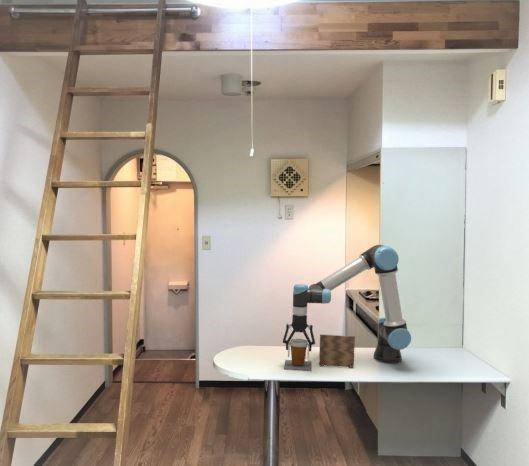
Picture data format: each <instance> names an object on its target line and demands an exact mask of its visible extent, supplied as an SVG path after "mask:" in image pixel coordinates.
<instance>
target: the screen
mask: <svg viewBox="0 0 529 466" xmlns="http://www.w3.org/2000/svg"><path fill="white" fill-rule="evenodd" d="M355 342H356V336H354V335H353V336H352V335H338V334H334V335H322V334H320V335H319V353H318V354H319V355H318V356H319V358H318V365H319V367H323V366H324V367H325V366H327V367H328V366H329V367H345V368H348V369H354V367H355V366H354V365H355Z"/></svg>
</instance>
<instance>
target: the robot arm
mask: <svg viewBox="0 0 529 466" xmlns="http://www.w3.org/2000/svg"><path fill="white" fill-rule="evenodd" d="M398 264H399V254H398V252H397V251H396V250H395V249H394V248H393V247H391V246H388V245H383V244H376V245H373V246H372V247H370V248H369V249H367V250H365V251H364V252H362V253H360V254H359V256H358V258H356V259H354V260H353V261H351V262H349V263H347V264H346V265H344V266H343V267H341V268H339V269H338V270H336V271H334V272H333V273H331V274H329V275H327V276H326V277H324V278H323V279H321V280H320V281H318V282H316V283H311V284H310V285H309V286H308V285H307V284H305V283H304V284H303V283H298V284H297V283H296V284H294V285H293V291H292V316H291V317H292V320H291V321H292V322H291V323H286V326H285V332H284V336H283V338H282V343H284V344H285V350H286V351H287V357H288V358H290V356H291V355H290V354H291V345H290V341H291V340H292V339H293V337H294V334H295V333H303V335H304V337H305V340H307V343H308V345H307V357H306V358H307V359H310V352H312V346H313V345H316V340H315V336H314V332H313V327H314V326H313V324H308V304H323V305H324V304H330V303H331V301H332V292H331V291H333V290H334V289H336V288H338V287H340V286H341V285H342V284H345V283H346V282H348V281H349V280H351V279H353V278H355V277H356V276H358V275H359V274H361V273H363V272H365V271H366V270H368V271H369V270H372V269H373V268H374V273H375V274H376V275H377V276H378V281H379V287H380V294H381V299H382V306H383V311H384V316H385V317H379V319H378V320H377V321H378V323H377V344H376V347H375V350H374V353H373V360H375V361H377V362H380V363H384V364H399V363H402V360H403V359H402V358H403V357H402V352H401V350H404V349H406V348H408V346H409V345H410V344H411V343H412V336H411V335H412V334H411V333H410V331H409V330H408V326H407V320H406V319H404V318H403V312H402V308H401V300H400V293H399V288H398V282H397V275H396V274H397V272H398V271H399V268H398ZM290 328H292V329H293V330H292V331H291V333H290V334H289V336H288V333H289V329H290ZM307 328H308V330H309V332H310V337H311V339H310V337H309V335H308V333H307V331H306V329H307ZM287 337H288V338H287Z"/></svg>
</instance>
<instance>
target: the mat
mask: <svg viewBox="0 0 529 466" xmlns="http://www.w3.org/2000/svg"><path fill="white" fill-rule="evenodd" d="M283 370H290V371H303V372H312V361H311V360H310V361H309V360H305V362H304V365H294V364H292V359H285V360H284V365H283Z"/></svg>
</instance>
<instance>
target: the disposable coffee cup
mask: <svg viewBox="0 0 529 466" xmlns="http://www.w3.org/2000/svg"><path fill="white" fill-rule="evenodd" d="M289 343H290V354H291V355H290V357H291V360H292V364H294V365H304V362H305V361H306V354H307V350H308V344H309V343H308V341H307V339H303V338H291V340H290V342H289Z"/></svg>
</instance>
